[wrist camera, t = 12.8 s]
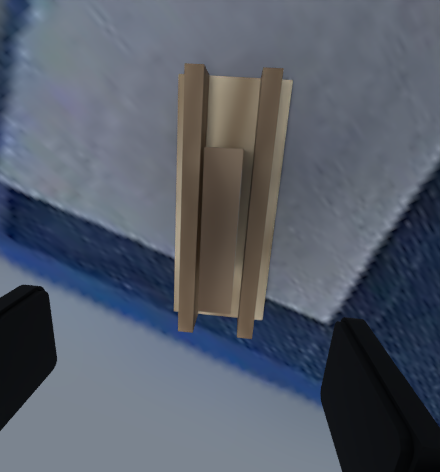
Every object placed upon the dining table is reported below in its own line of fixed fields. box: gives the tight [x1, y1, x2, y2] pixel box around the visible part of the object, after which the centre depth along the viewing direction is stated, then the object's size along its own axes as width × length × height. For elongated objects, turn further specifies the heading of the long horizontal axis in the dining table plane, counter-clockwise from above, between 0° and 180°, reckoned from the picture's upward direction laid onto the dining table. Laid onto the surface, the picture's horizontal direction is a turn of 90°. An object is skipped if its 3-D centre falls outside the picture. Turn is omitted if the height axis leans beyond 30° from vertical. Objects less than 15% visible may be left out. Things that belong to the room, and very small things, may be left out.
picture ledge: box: [174, 63, 293, 339], centre depth 28 cm, size 10×24×6 cm, turn 176°
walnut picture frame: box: [198, 147, 244, 314], centre depth 24 cm, size 2×12×9 cm, turn 177°
